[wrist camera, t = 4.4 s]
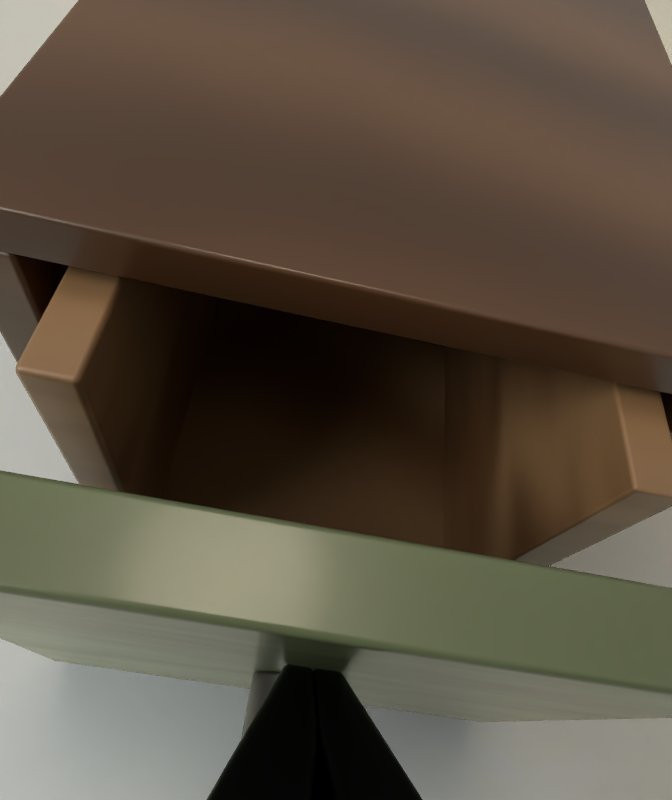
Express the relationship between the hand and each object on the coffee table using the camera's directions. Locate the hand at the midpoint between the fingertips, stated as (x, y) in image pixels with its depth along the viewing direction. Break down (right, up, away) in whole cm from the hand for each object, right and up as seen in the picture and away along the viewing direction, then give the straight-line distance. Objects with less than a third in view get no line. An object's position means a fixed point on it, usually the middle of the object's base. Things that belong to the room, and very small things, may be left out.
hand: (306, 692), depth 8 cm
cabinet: (0, +6, +12) cm, 13 cm away
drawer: (0, +2, +8) cm, 8 cm away
